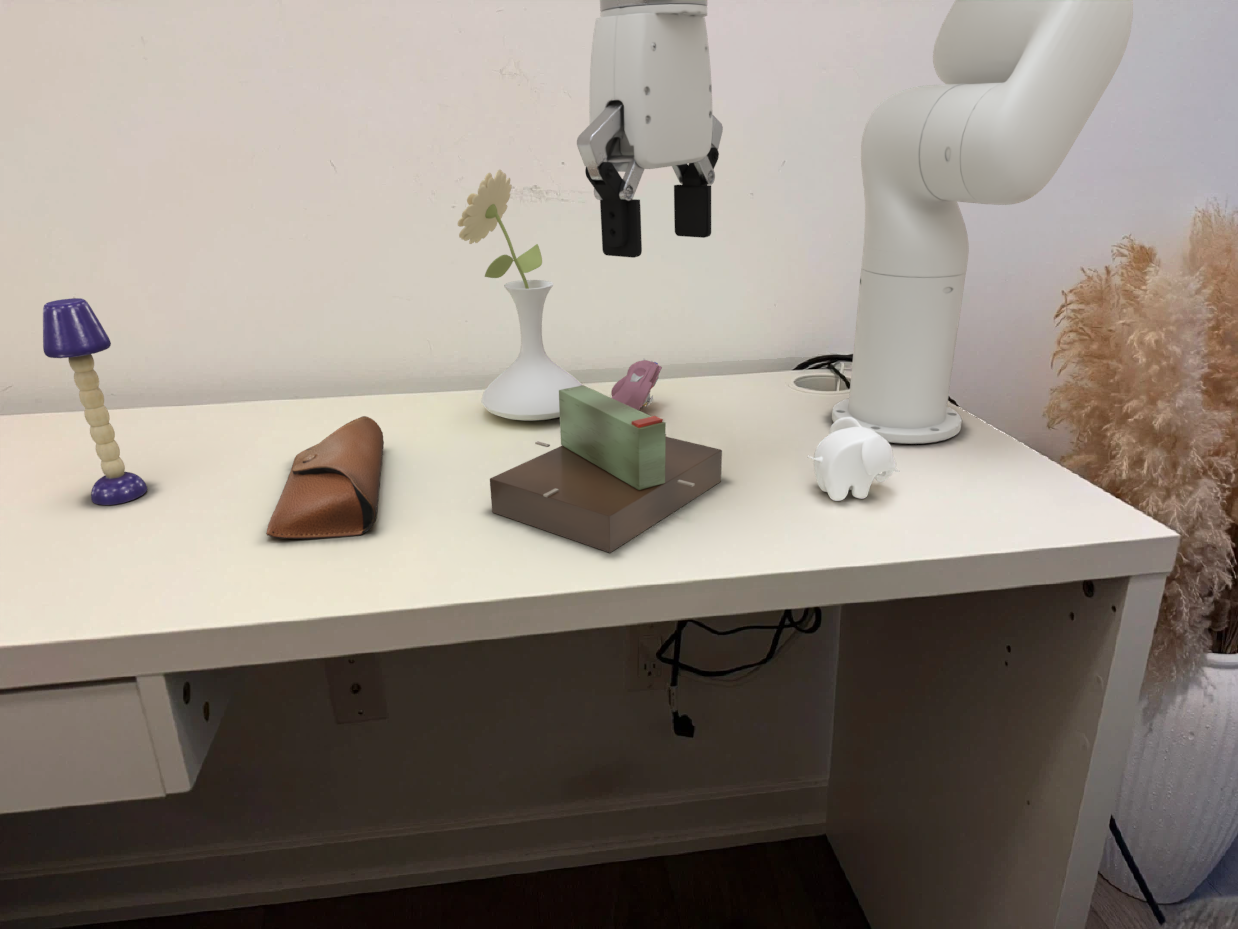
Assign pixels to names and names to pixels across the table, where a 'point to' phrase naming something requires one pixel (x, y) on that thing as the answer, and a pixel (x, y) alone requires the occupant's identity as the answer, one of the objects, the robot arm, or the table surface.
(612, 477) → the base
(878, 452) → the elephant figurine
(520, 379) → the flower in vase
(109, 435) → the toy lamp
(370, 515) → the sunglasses case
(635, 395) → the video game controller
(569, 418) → the green rectangular block
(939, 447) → the table surface
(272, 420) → the table surface
